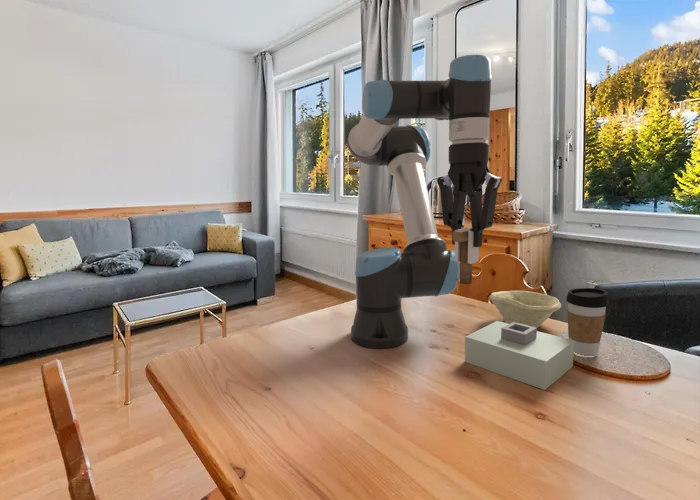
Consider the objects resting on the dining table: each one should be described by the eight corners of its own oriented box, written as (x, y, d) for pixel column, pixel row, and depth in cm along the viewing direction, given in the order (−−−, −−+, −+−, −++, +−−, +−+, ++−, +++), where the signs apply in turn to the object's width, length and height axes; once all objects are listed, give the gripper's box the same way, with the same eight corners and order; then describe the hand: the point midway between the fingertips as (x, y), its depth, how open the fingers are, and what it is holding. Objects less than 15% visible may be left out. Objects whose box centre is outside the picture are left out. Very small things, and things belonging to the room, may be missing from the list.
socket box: (464, 361, 95) (465, 326, 93) (496, 343, 104) (497, 311, 103) (544, 390, 82) (547, 349, 80) (572, 366, 91) (575, 329, 89)
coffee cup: (610, 361, 93) (615, 296, 90) (569, 359, 94) (573, 295, 92) (596, 346, 101) (601, 286, 98) (558, 344, 102) (562, 285, 100)
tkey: (470, 278, 89) (471, 227, 87) (480, 280, 87) (481, 228, 85) (451, 285, 84) (451, 231, 82) (461, 287, 82) (462, 232, 80)
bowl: (493, 340, 117) (484, 297, 126) (561, 337, 114) (547, 292, 123) (498, 314, 106) (488, 269, 116) (573, 310, 104) (556, 264, 113)
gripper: (424, 145, 84) (424, 259, 88) (495, 138, 73) (491, 270, 77) (446, 145, 89) (445, 254, 93) (516, 140, 77) (511, 263, 82)
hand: (466, 261), depth 85 cm, fingers closed on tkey, 2 cm apart
